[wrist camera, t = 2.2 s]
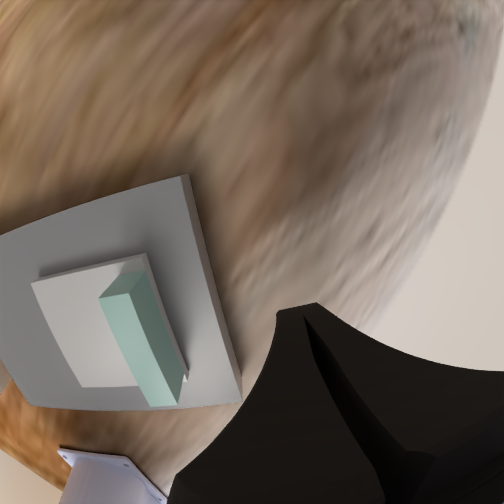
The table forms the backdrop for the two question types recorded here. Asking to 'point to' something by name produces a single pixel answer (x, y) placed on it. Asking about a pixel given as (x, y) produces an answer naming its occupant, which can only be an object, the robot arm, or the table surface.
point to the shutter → (114, 327)
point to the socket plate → (106, 249)
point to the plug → (4, 377)
